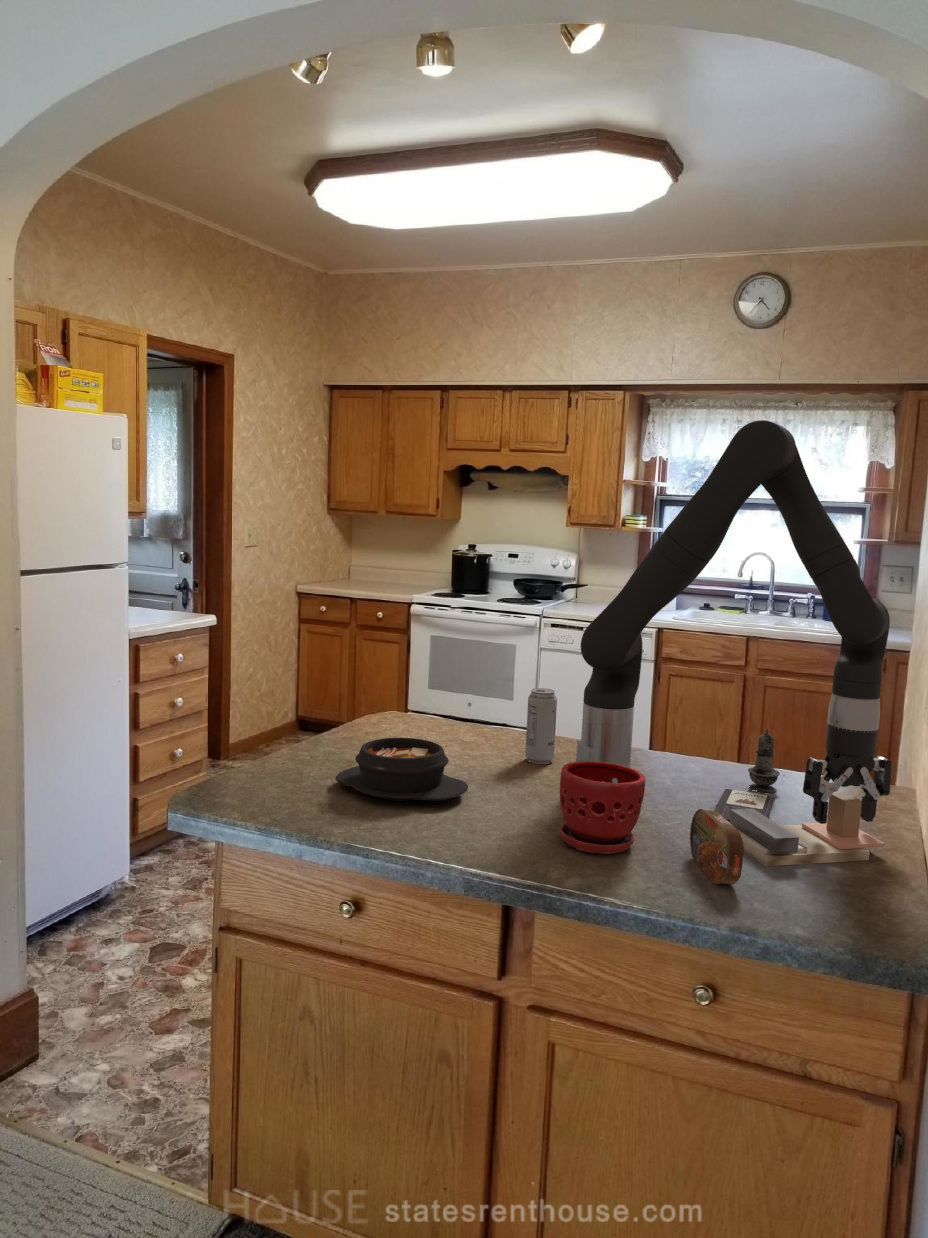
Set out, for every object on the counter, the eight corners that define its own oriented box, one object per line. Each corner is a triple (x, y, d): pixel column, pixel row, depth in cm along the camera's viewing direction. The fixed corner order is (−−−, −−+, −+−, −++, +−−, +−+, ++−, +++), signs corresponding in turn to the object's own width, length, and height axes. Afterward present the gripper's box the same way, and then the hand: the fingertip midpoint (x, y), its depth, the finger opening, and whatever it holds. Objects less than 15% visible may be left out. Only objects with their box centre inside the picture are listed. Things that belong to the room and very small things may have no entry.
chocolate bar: (710, 816, 154) (725, 788, 171) (710, 821, 154) (725, 793, 171) (765, 825, 151) (774, 796, 167) (764, 831, 151) (774, 801, 167)
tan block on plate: (839, 849, 138) (843, 808, 137) (801, 826, 148) (804, 788, 147) (884, 846, 140) (888, 806, 139) (843, 824, 149) (847, 786, 149)
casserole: (314, 795, 159) (315, 749, 158) (366, 769, 176) (368, 727, 175) (441, 819, 149) (443, 770, 148) (483, 789, 166) (485, 745, 165)
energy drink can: (555, 765, 183) (558, 694, 181) (525, 764, 183) (529, 693, 182) (552, 757, 189) (556, 688, 187) (524, 756, 189) (527, 687, 187)
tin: (686, 853, 138) (690, 800, 137) (706, 853, 139) (710, 801, 138) (722, 894, 124) (727, 836, 123) (744, 895, 124) (749, 836, 123)
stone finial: (774, 785, 175) (779, 726, 174) (781, 795, 170) (787, 733, 168) (743, 783, 176) (748, 724, 174) (750, 793, 170) (755, 731, 169)
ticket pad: (766, 867, 134) (769, 838, 133) (723, 836, 146) (725, 809, 146) (870, 861, 138) (873, 833, 137) (819, 831, 150) (821, 805, 150)
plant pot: (621, 867, 132) (627, 788, 130) (542, 846, 139) (546, 772, 137) (652, 841, 143) (657, 768, 141) (578, 823, 150) (582, 754, 148)
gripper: (828, 729, 136) (818, 831, 138) (908, 728, 139) (897, 827, 141) (799, 718, 143) (790, 815, 145) (875, 717, 147) (866, 812, 149)
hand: (843, 821), depth 143 cm, fingers open, 8 cm apart
